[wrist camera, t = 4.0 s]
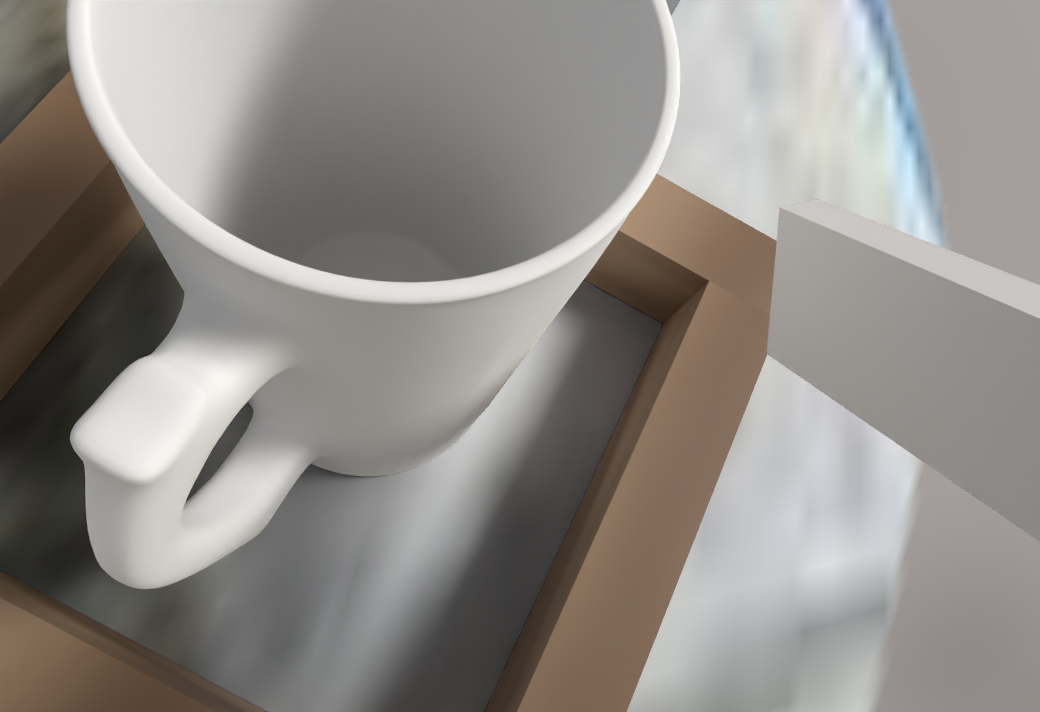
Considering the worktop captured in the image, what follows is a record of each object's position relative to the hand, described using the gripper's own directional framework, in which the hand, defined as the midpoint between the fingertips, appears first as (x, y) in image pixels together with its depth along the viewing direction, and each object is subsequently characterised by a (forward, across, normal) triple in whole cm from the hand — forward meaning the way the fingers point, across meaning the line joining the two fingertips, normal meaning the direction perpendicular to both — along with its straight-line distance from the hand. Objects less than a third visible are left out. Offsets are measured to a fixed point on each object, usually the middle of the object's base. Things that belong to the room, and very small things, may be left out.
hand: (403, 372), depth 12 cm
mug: (+7, -1, -5) cm, 8 cm away
